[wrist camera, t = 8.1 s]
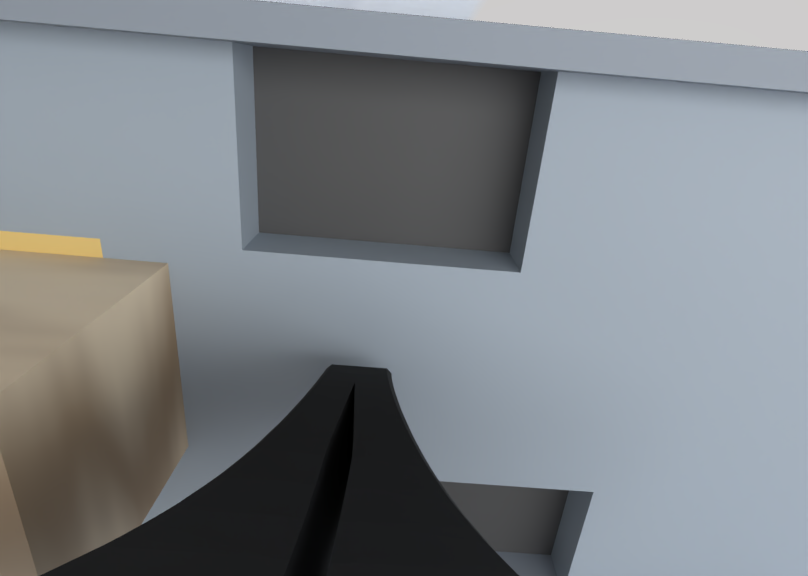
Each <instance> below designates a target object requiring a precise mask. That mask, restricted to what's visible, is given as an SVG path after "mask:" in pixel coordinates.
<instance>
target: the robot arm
mask: <svg viewBox="0 0 808 576" xmlns="http://www.w3.org/2000/svg"><path fill="white" fill-rule="evenodd" d="M40 576H519V575H518V574H517V573H516V572H515V571H514V570H513V569H512V568H511V567H510V566H509V565H508V564H507V563H506V562H505V561H504V560H503V559H502V558H501V557H500V556H499V555H498V554H497V553H496V551H495V550H494V549H493V548H492V547H491V546H490V545H489V544H488V542H487V541H486V540H485V539H484V538H483V537H482V535H481V534H480V533H479V532H478V531H477V530H476V528H475V527H474V526H473V525H472V524H471V523H470V521H469V520H468V519H467V518H466V517H465V516H464V514H463V513H462V512H461V511H460V509H459V508H458V507H457V505H456V504H455V503H454V501H453V500H452V498H451V497H450V496H449V494H448V493H447V492H446V490H445V489H444V487H443V486H442V484H441V483H440V481H439V480H438V478H437V477H436V475H435V474H434V472H433V471H432V469H431V467H430V466H429V464H428V462H427V461H426V459H425V457H424V455H423V454H422V452H421V450H420V448H419V446H418V444H417V443H416V441H415V439H414V437H413V435H412V433H411V431H410V428H409V426H408V424H407V422H406V419H405V417H404V415H403V413H402V410H401V407H400V405H399V402H398V399H397V396H396V393H395V390H394V386H393V382H392V373H391V372H390V371H389V370H388V369H387V368H376V367H362V366H348V365H335V364H331V365H330V366H329V367H328V368H326V370H325V371H324V373H323V374H322V375H321V376H320V378H319V379H318V380H317V382H316V383H315V384H314V385H313V387H312V388H311V389H310V390H309V391H308V392H307V394H306V395H305V396H304V397H303V398H302V399H301V400H300V402H299V403H298V404H297V405H296V406H295V407H294V408H293V409H292V410H291V411H290V412H289V413H288V415H287V416H286V417H285V418H284V419H283V420H282V421H281V422H280V423H279V424H278V425H277V426H275V427H274V428H273V429H272V430H271V431H270V432H269V433H268V434H267V435H266V436H265V437H264V438H263V439H262V440H261V441H260V442H259V443H258V444H256V445H255V446H254V447H253V448H252V449H251V450H250V451H248V452H247V453H246V454H245V455H244V456H242V457H241V458H240V459H239V460H238V461H236V462H235V463H234V464H233V465H231V466H230V467H229V468H227V469H226V470H225V471H224V472H222V473H221V474H220V475H218V476H217V477H216V478H214V479H213V480H211V481H210V482H209V483H207V484H206V485H204V486H203V487H201V488H200V489H198V490H197V491H195V492H194V493H192V494H191V495H189V496H188V497H186V498H185V499H183V500H182V501H180V502H179V503H177V504H176V505H174V506H173V507H171V508H169V509H168V510H166V511H164V512H163V513H161V514H159V515H157V516H156V517H154V518H152V519H151V520H149V521H147V522H146V523H144V524H142V525H140V526H138V527H136V528H135V529H133V530H131V531H129V532H127V533H126V534H124V535H122V536H120V537H118V538H116V539H114V540H112V541H110V542H108V543H107V544H105V545H103V546H101V547H99V548H96V549H94V550H92V551H90V552H88V553H86V554H84V555H82V556H80V557H78V558H76V559H73V560H71V561H69V562H67V563H65V564H63V565H61V566H59V567H57V568H55V569H52V570H50V571H48V572H46V573H44V574H42V575H40Z"/></svg>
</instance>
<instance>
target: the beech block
mask: <svg viewBox="0 0 808 576" xmlns="http://www.w3.org/2000/svg"><path fill="white" fill-rule="evenodd" d="M187 448H188V439H187V430H186V421H185V412H184V403H183V394H182V385H181V376H180V366H179V357H178V348H177V339H176V330H175V321H174V312H173V303H172V294H171V285H170V276H169V267H168V263H160V262H148V261H136V260H123V259H111V258H99V257H86V256H74V255H62V254H50V253H37V252H25V251H13V250H0V576H40V575H42V574H44V573H46V572H48V571H50V570H52V569H55V568H57V567H59V566H61V565H63V564H65V563H67V562H69V561H71V560H73V559H76V558H78V557H80V556H82V555H84V554H86V553H88V552H90V551H92V550H94V549H96V548H99V547H101V546H103V545H105V544H107V543H108V542H110V541H112V540H114V539H116V538H118V537H120V536H122V535H124V534H126V533H127V532H129V531H131V530H133V529H135V528H136V527H138V526H140V525H141V524H142V523H143V521H144V519H145V518H146V516H147V514H148V513H149V511H150V509H151V508H152V506H153V504H154V503H155V501H156V499H157V498H158V496H159V494H160V493H161V491H162V489H163V488H164V486H165V484H166V483H167V481H168V479H169V478H170V476H171V474H172V473H173V471H174V469H175V468H176V466H177V464H178V463H179V461H180V459H181V458H182V456H183V454H184V453H185V451H186V449H187Z"/></svg>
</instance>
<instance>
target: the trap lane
mask: <svg viewBox="0 0 808 576" xmlns="http://www.w3.org/2000/svg"><path fill="white" fill-rule="evenodd" d="M0 250H13V251H25V252H37V253H50V254H62V255H74V256H86V257H99V258H111V259H123V260H136V261H148V262H160V263H168V267H169V276H170V285H171V294H172V303H173V312H174V321H175V330H176V339H177V348H178V357H179V366H180V376H181V385H182V394H183V403H184V412H185V421H186V430H187V439H188V448H187V449H186V451H185V453H184V454H183V456H182V458H181V459H180V461H179V463H178V464H177V466H176V468H175V469H174V471H173V473H172V474H171V476H170V478H169V479H168V481H167V483H166V484H165V486H164V488H163V489H162V491H161V493H160V494H159V496H158V498H157V499H156V501H155V503H154V504H153V506H152V508H151V509H150V511H149V513H148V514H147V516H146V518H145V519H144V521H143V523H142V524H144V523H146V522H147V521H149V520H151V519H152V518H154V517H156V516H157V515H159V514H161V513H163V512H164V511H166V510H168V509H169V508H171V507H173V506H174V505H176V504H177V503H179V502H180V501H182V500H183V499H185V498H186V497H188V496H189V495H191V494H192V493H194V492H195V491H197V490H198V489H200V488H201V487H203V486H204V485H206V484H207V483H209V482H210V481H211V480H213V479H214V478H216V477H217V476H218V475H220V474H221V473H222V472H224V471H225V470H226V469H227V468H229V467H230V466H231V465H233V464H234V463H235V462H236V461H238V460H239V459H240V458H241V457H242V456H244V455H245V454H246V453H247V452H248V451H250V450H251V449H252V448H253V447H254V446H255V445H256V444H258V443H259V442H260V441H261V440H262V439H263V438H264V437H265V436H266V435H267V434H268V433H269V432H270V431H271V430H272V429H273V428H274V427H275V426H277V425H278V424H279V423H280V422H281V421H282V420H283V419H284V418H285V417H286V416H287V415H288V413H289V412H290V411H291V410H292V409H293V408H294V407H295V406H296V405H297V404H298V403H299V402H300V400H301V399H302V398H303V397H304V396H305V395H306V394H307V392H308V391H309V390H310V389H311V388H312V387H313V385H314V384H315V383H316V382H317V380H318V379H319V378H320V376H321V375H322V374H323V373H324V371H325V370H326V368H328V367H329V366H330V365H331V364H335V365H348V366H362V367H376V368H387V369H388V370H389V371H390V372H391V373H392V382H393V386H394V390H395V393H396V396H397V399H398V402H399V405H400V407H401V410H402V413H403V415H404V417H405V419H406V422H407V424H408V426H409V428H410V431H411V433H412V435H413V437H414V439H415V441H416V443H417V444H418V446H419V448H420V450H421V452H422V454H423V455H424V457H425V459H426V461H427V462H428V464H429V466H430V467H431V469H432V471H433V472H434V474H435V475H436V477H437V478H438V480H439V481H440V483H441V484H442V486H443V487H444V489H445V490H446V492H447V493H448V494H449V496H450V497H451V498H452V500H453V501H454V503H455V504H456V505H457V507H458V508H459V509H460V511H461V512H462V513H463V514H464V516H465V517H466V518H467V519H468V520H469V521H470V523H471V524H472V525H473V526H474V527H475V528H476V530H477V531H478V532H479V533H480V534H481V535H482V537H483V538H484V539H485V540H486V541H487V542H488V544H489V545H490V546H491V547H492V548H493V549H494V550H495V551H496V553H497V554H498V555H499V556H500V557H501V558H502V559H503V560H504V561H505V562H506V563H507V564H508V565H509V566H510V567H511V568H512V569H513V570H514V571H515V572H516V573H517V574H518V575H519V576H808V51H799V50H788V49H777V48H767V47H755V46H745V45H734V44H723V43H712V42H701V41H690V40H679V39H669V38H657V37H647V36H635V35H625V34H614V33H604V32H593V31H582V30H571V29H559V28H549V27H538V26H528V25H517V24H505V23H495V22H484V21H473V20H462V19H452V18H441V17H430V16H419V15H408V14H397V13H386V12H376V11H365V10H354V9H343V8H332V7H321V6H310V5H300V4H289V3H278V2H267V1H256V0H0ZM142 524H141V525H142Z"/></svg>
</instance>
